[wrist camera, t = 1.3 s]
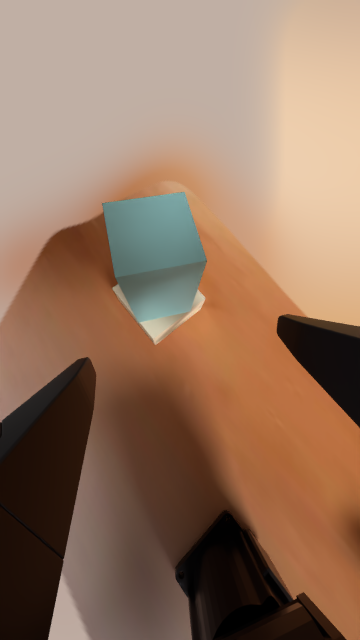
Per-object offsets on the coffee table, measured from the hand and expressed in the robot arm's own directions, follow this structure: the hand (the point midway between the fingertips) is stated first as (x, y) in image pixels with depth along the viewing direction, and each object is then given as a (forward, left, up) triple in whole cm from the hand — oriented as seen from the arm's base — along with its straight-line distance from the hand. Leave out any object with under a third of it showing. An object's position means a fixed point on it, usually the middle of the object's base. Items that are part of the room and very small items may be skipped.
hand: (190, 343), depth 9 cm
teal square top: (+3, +7, -10) cm, 12 cm away
